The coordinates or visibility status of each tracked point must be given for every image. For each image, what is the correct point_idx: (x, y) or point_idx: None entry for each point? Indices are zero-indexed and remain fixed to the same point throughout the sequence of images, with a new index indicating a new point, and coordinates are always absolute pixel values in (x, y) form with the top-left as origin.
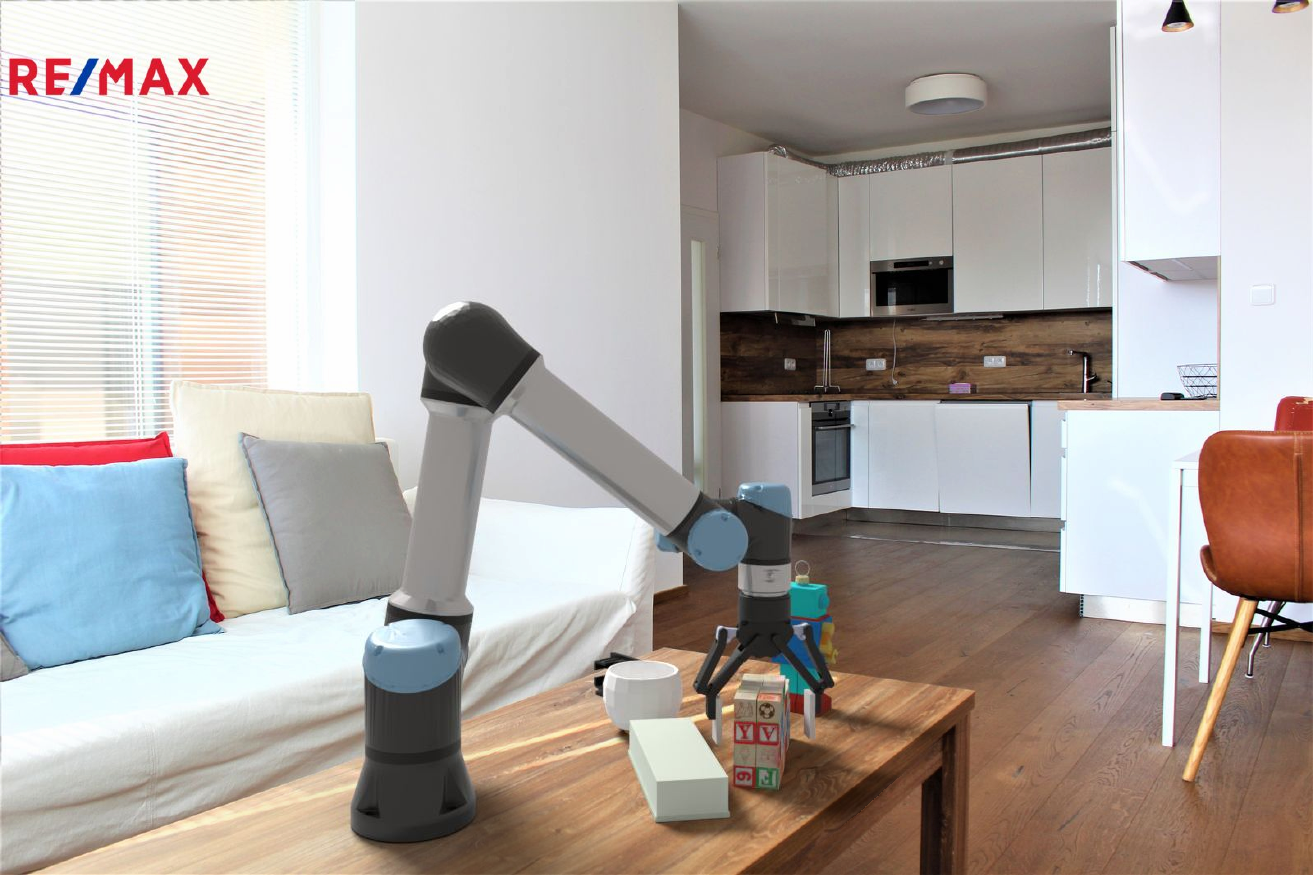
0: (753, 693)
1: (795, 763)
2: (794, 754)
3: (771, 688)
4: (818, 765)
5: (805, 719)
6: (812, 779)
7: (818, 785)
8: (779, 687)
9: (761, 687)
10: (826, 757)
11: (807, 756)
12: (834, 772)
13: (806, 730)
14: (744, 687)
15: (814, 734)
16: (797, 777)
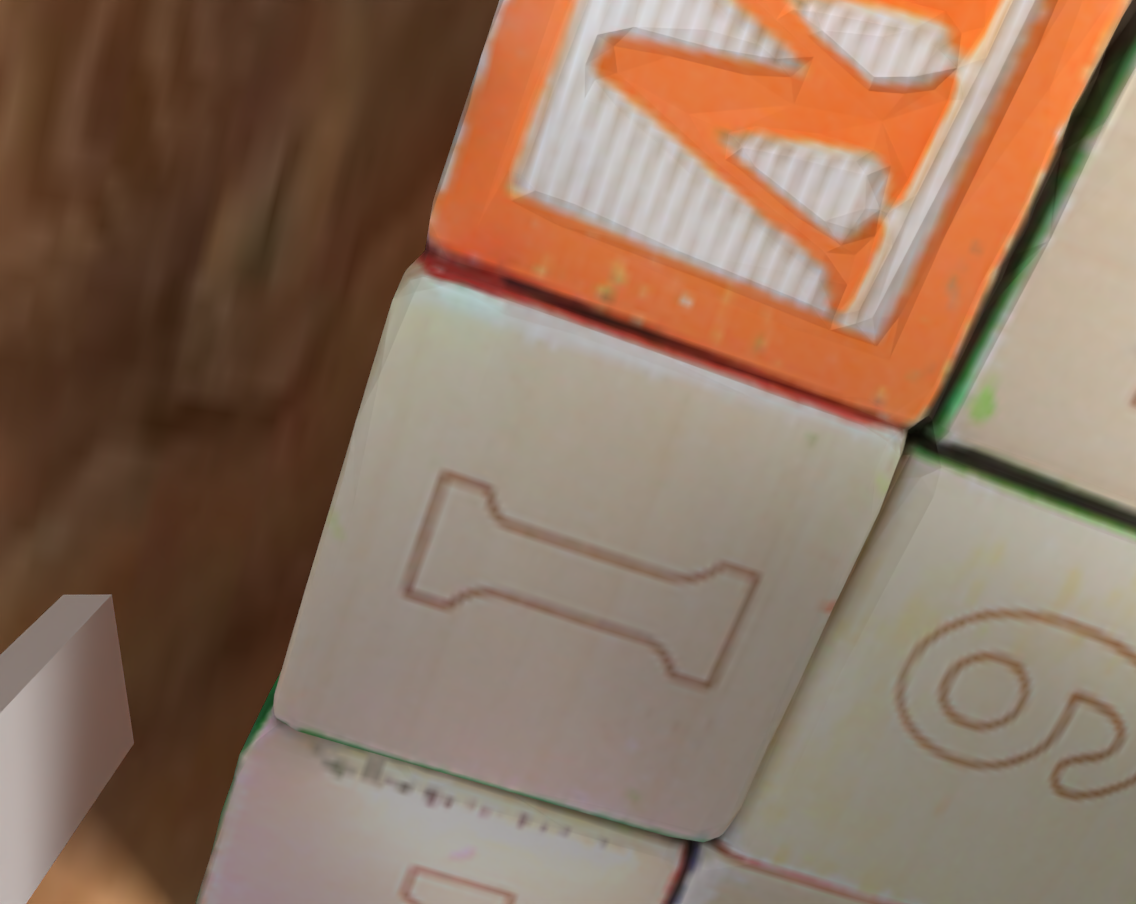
0: (1058, 425)
1: (296, 516)
2: (262, 682)
3: (556, 649)
4: (127, 452)
5: (62, 797)
6: (239, 173)
7: (218, 32)
8: (356, 683)
9: (751, 749)
10: (33, 596)
11: (174, 633)
12: (28, 292)
13: (102, 706)
14: (1071, 835)
15: (43, 616)
16: (350, 235)
